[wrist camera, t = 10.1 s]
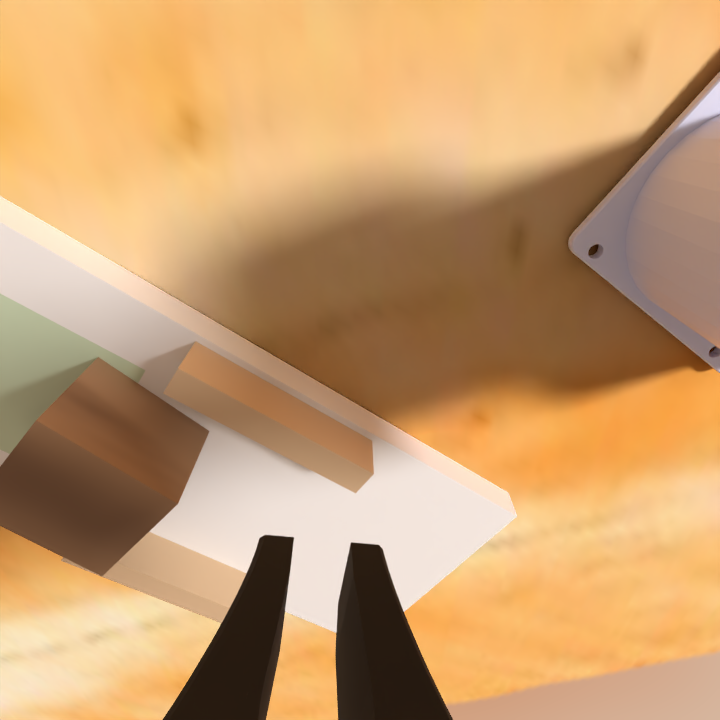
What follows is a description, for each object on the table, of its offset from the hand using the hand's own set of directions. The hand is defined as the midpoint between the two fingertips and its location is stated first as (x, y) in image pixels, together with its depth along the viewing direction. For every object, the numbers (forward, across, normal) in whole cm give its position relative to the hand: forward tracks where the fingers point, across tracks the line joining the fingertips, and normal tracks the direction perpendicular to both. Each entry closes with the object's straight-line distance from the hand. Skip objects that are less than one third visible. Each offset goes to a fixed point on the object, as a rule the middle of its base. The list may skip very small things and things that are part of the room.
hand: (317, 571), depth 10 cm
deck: (+11, +7, +5) cm, 14 cm away
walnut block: (+9, +8, +4) cm, 13 cm away
